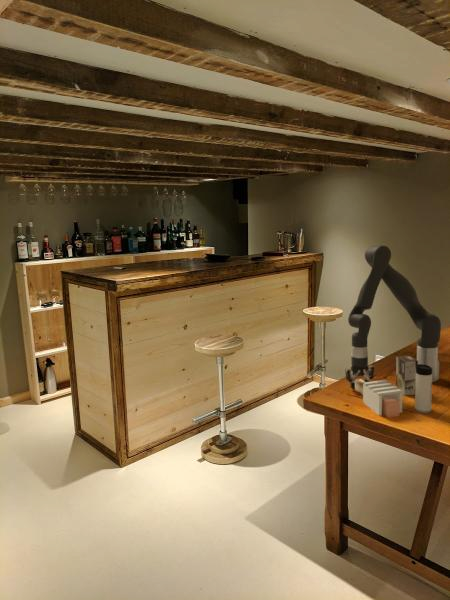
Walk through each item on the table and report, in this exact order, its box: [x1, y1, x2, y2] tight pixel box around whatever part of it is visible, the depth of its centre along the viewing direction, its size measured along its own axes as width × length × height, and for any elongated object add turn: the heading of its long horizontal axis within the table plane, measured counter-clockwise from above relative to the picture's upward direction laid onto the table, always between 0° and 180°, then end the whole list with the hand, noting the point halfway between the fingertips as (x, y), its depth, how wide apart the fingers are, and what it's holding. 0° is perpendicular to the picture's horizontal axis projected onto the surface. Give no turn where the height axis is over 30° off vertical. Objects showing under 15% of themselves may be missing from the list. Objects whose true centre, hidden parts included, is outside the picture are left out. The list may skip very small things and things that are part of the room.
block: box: [382, 398, 401, 418], centre depth 187 cm, size 5×5×6 cm
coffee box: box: [395, 354, 418, 396], centre depth 208 cm, size 9×6×16 cm
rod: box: [355, 378, 387, 399], centre depth 204 cm, size 4×26×4 cm, turn 9°
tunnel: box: [362, 379, 403, 416], centre depth 194 cm, size 10×14×10 cm
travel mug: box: [414, 364, 433, 414], centre depth 187 cm, size 6×7×20 cm
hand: (359, 388), depth 214 cm, fingers open, 6 cm apart
